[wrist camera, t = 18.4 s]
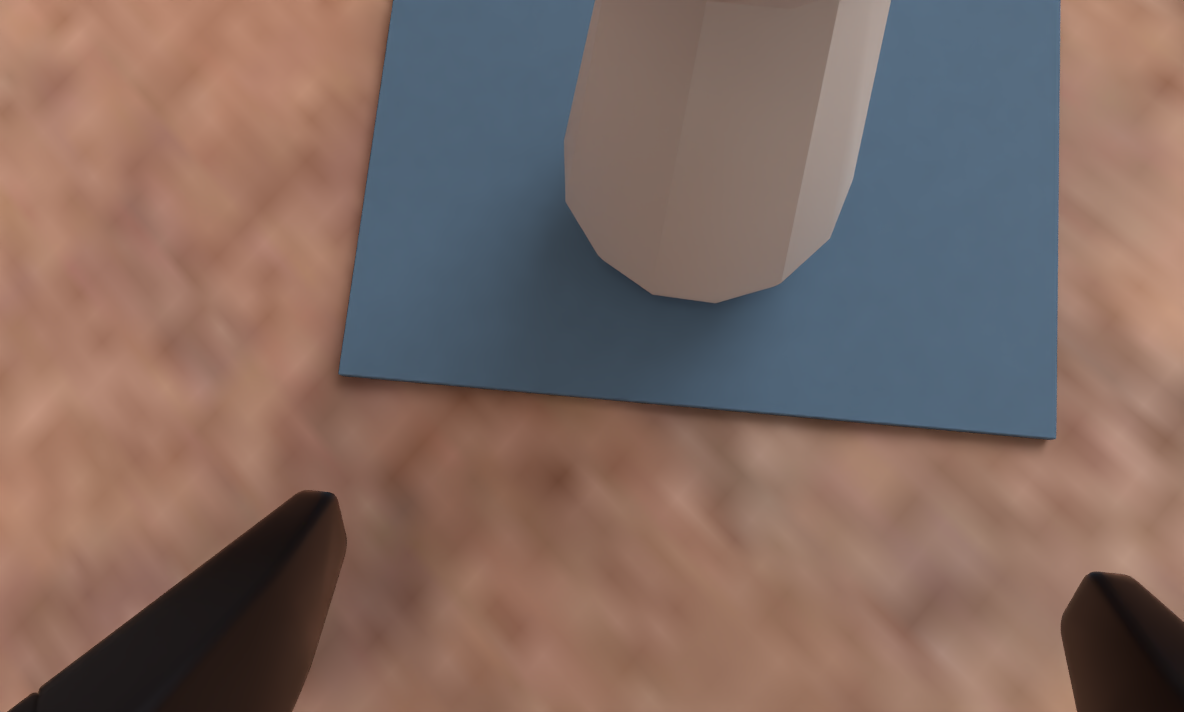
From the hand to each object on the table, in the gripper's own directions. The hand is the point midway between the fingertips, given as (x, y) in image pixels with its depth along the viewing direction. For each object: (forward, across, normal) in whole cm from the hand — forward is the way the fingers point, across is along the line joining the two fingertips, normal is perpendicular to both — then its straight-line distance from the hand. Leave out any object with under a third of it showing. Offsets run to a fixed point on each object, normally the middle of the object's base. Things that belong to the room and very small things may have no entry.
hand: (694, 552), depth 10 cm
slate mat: (+16, 0, -5) cm, 17 cm away
